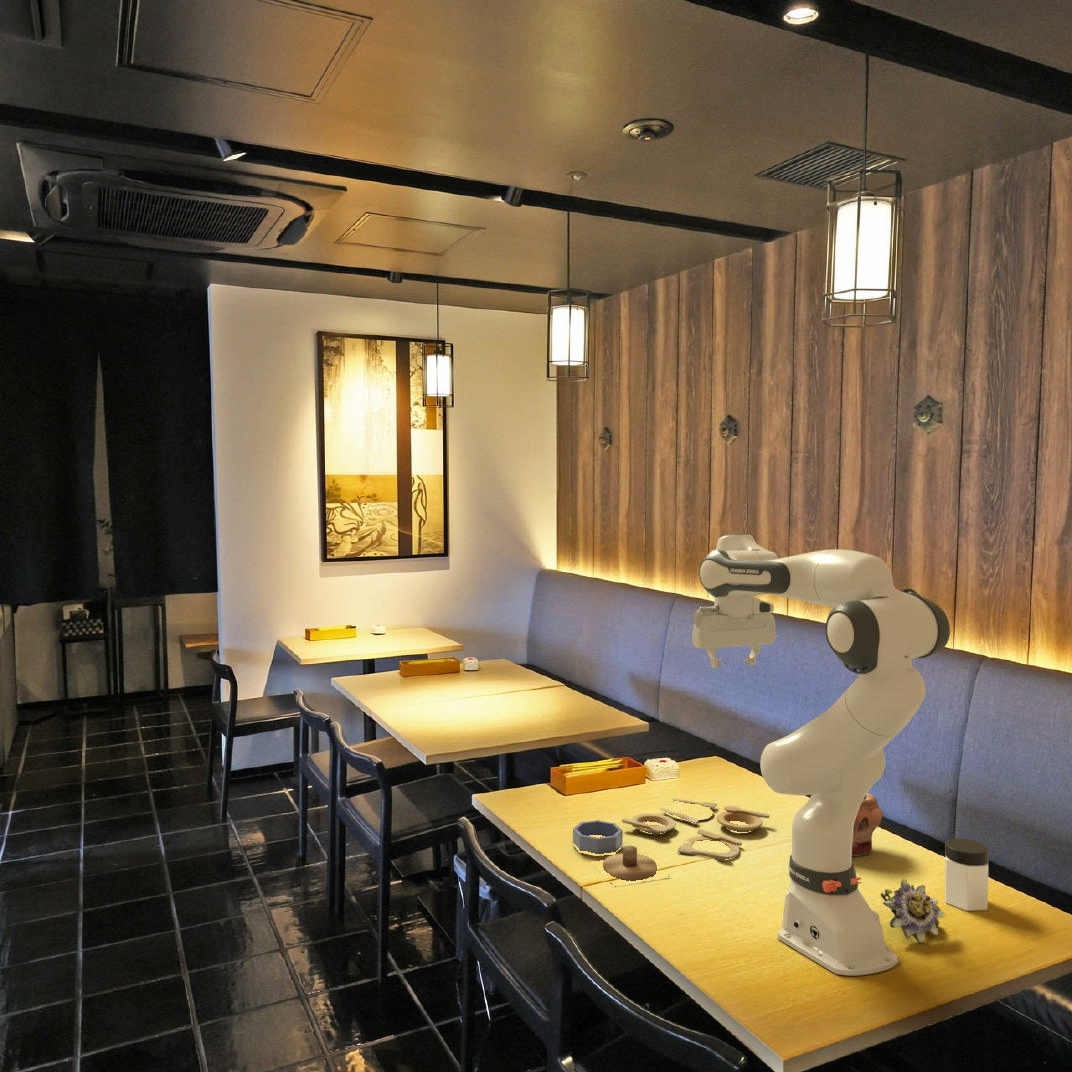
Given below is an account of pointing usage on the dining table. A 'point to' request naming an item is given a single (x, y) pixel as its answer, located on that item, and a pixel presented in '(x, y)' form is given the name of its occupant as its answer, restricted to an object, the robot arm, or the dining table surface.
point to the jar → (966, 874)
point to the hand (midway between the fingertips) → (733, 665)
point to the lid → (630, 865)
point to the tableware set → (722, 818)
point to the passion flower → (913, 910)
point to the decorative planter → (865, 825)
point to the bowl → (598, 845)
